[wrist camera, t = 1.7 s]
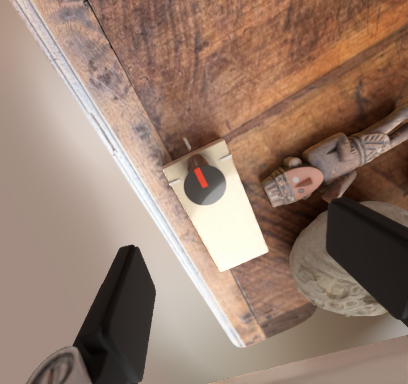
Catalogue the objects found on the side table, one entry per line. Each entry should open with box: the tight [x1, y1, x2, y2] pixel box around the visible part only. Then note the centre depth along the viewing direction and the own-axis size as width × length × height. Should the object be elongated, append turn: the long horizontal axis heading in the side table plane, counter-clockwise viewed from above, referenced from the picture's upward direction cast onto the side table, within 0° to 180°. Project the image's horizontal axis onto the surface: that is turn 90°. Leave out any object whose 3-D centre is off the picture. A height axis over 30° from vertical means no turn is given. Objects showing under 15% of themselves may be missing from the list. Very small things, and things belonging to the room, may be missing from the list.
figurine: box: [261, 102, 408, 207], centre depth 24 cm, size 7×5×20 cm
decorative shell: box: [289, 201, 408, 317], centre depth 27 cm, size 18×18×10 cm
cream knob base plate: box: [162, 137, 269, 272], centre depth 26 cm, size 20×8×2 cm, turn 25°
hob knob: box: [183, 153, 226, 205], centre depth 20 cm, size 4×4×6 cm
